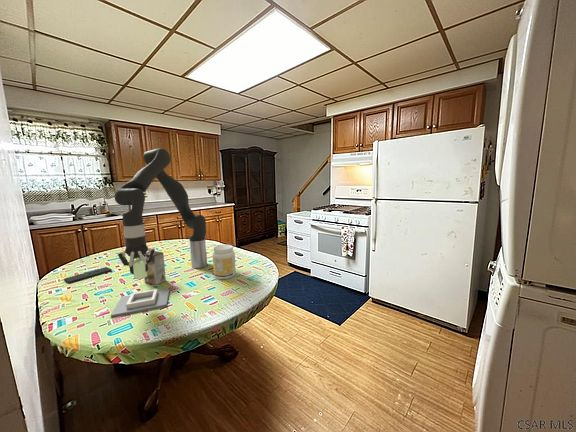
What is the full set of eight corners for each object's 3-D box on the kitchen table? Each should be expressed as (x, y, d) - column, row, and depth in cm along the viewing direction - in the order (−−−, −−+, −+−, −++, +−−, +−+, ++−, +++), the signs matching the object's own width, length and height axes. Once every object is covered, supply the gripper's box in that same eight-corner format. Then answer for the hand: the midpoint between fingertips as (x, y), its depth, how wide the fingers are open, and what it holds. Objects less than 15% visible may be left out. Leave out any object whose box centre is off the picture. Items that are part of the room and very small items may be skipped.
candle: (141, 279, 99) (139, 261, 98) (131, 278, 100) (129, 260, 99) (149, 275, 104) (148, 257, 103) (140, 274, 105) (138, 256, 104)
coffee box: (143, 282, 124) (140, 254, 122) (154, 277, 130) (151, 250, 128) (156, 284, 121) (153, 255, 119) (166, 279, 127) (163, 252, 125)
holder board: (169, 290, 115) (168, 284, 115) (166, 306, 101) (165, 300, 100) (121, 298, 108) (120, 292, 107) (110, 317, 93) (109, 310, 93)
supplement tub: (220, 270, 139) (218, 243, 137) (239, 271, 137) (237, 244, 134) (209, 279, 127) (207, 249, 125) (230, 280, 125) (228, 250, 122)
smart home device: (112, 269, 140) (68, 281, 124) (112, 271, 141) (69, 284, 124) (106, 266, 145) (63, 278, 128) (106, 269, 145) (63, 281, 128)
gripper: (155, 231, 105) (159, 267, 108) (117, 234, 100) (122, 272, 103) (152, 235, 98) (156, 273, 101) (112, 239, 93) (117, 279, 96)
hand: (139, 272), depth 102 cm, fingers closed on candle, 4 cm apart
